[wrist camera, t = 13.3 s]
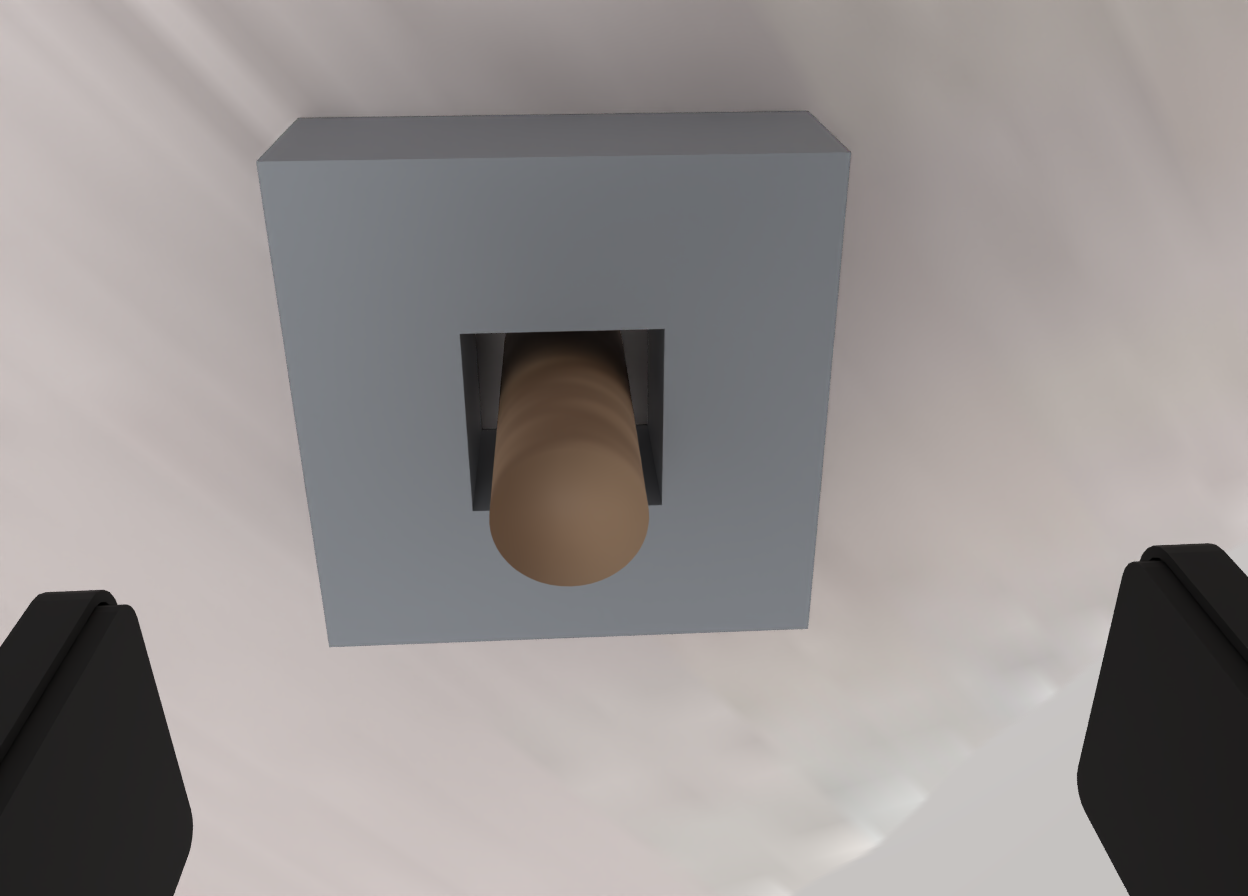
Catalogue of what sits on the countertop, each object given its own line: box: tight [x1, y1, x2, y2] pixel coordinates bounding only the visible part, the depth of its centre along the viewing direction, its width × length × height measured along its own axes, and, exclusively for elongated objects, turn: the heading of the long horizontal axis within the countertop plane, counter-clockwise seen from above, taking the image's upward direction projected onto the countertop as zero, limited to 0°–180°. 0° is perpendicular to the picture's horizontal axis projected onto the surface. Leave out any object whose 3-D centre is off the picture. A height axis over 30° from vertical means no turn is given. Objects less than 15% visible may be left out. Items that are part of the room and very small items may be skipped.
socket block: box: [256, 111, 851, 647], centre depth 32 cm, size 14×14×5 cm
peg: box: [489, 330, 649, 587], centre depth 30 cm, size 4×4×10 cm
